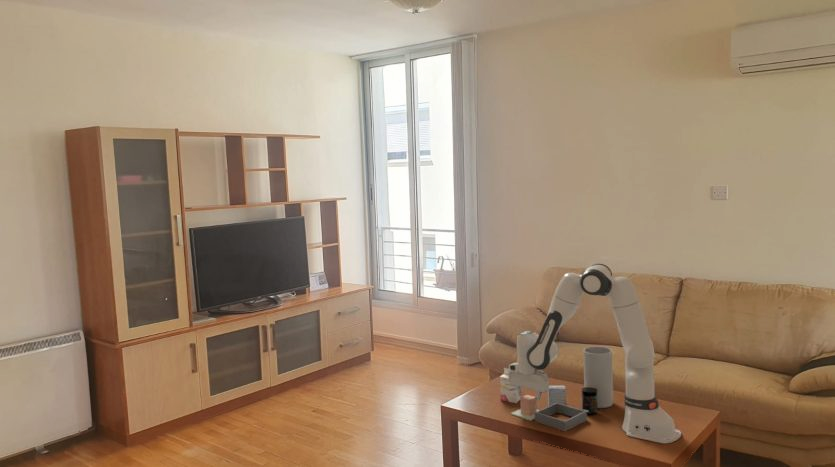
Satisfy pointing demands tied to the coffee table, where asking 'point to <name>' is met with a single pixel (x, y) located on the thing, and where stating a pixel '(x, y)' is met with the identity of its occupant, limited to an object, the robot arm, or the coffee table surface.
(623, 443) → the coffee table surface
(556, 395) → the medicine box
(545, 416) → the parts bin
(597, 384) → the cylinder vase
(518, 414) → the pad
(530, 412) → the salmon pink block
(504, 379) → the ink cartridge box
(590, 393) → the supplement container
